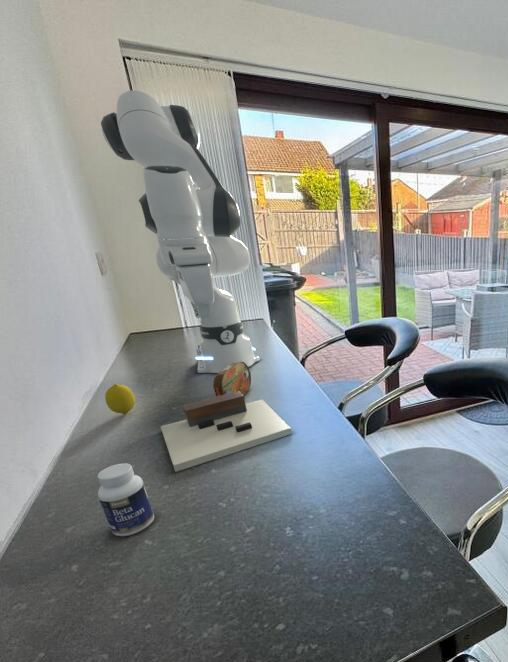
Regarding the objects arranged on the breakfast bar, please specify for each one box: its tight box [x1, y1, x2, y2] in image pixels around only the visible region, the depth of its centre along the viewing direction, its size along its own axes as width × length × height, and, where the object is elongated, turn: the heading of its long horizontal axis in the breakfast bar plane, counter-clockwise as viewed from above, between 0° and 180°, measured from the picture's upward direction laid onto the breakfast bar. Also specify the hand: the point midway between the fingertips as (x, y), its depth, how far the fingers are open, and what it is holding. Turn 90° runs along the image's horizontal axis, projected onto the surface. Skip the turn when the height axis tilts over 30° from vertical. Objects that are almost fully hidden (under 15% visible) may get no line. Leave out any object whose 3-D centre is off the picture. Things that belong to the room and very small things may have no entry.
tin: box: [212, 362, 252, 397], centre depth 104 cm, size 15×3×8 cm, turn 179°
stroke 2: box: [216, 421, 233, 431], centre depth 86 cm, size 1×3×1 cm, turn 128°
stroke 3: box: [235, 422, 252, 432], centre depth 85 cm, size 1×3×1 cm, turn 128°
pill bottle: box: [97, 462, 155, 537], centre depth 59 cm, size 5×5×10 cm
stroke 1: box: [198, 420, 215, 429], centre depth 87 cm, size 1×3×1 cm, turn 128°
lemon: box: [104, 383, 136, 415], centre depth 96 cm, size 6×6×8 cm
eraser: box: [181, 391, 247, 427], centre depth 91 cm, size 4×12×4 cm, turn 128°
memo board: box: [160, 398, 292, 473], centre depth 87 cm, size 20×22×2 cm
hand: (203, 320), depth 86 cm, fingers open, 8 cm apart
